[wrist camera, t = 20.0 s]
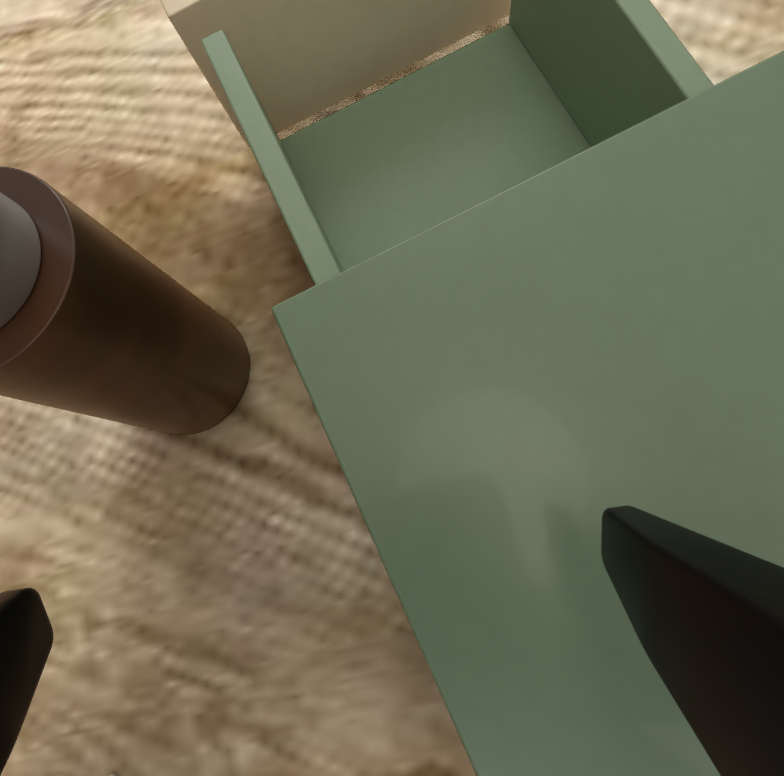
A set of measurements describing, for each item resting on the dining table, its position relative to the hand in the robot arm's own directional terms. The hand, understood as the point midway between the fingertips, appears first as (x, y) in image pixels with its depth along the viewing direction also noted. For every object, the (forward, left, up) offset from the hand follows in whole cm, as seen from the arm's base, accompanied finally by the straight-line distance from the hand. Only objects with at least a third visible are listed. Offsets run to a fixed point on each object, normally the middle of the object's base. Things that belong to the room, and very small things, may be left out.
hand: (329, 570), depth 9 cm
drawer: (+15, +5, -11) cm, 20 cm away
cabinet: (+5, -6, -12) cm, 14 cm away
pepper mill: (+3, +11, -12) cm, 17 cm away
